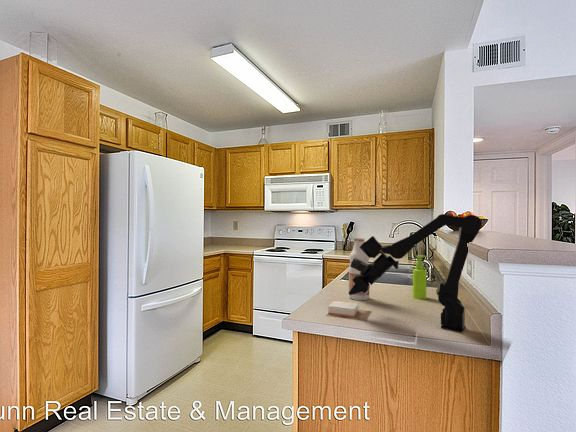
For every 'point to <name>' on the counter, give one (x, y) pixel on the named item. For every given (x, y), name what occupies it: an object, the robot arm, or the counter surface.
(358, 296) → the fruit juice
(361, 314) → the board
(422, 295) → the soap dispenser
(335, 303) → the white box
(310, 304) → the counter surface
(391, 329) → the counter surface
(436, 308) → the counter surface
